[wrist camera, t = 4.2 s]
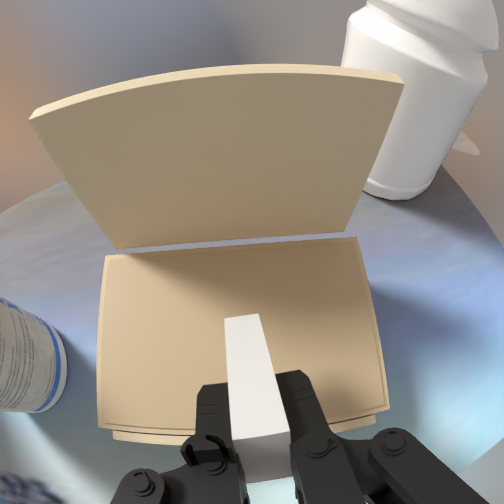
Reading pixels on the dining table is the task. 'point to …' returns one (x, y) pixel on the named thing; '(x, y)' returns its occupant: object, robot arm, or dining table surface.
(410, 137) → the bottle
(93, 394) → the dining table surface
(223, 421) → the robot arm
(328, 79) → the flap
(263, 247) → the carton
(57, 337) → the supplement tub
